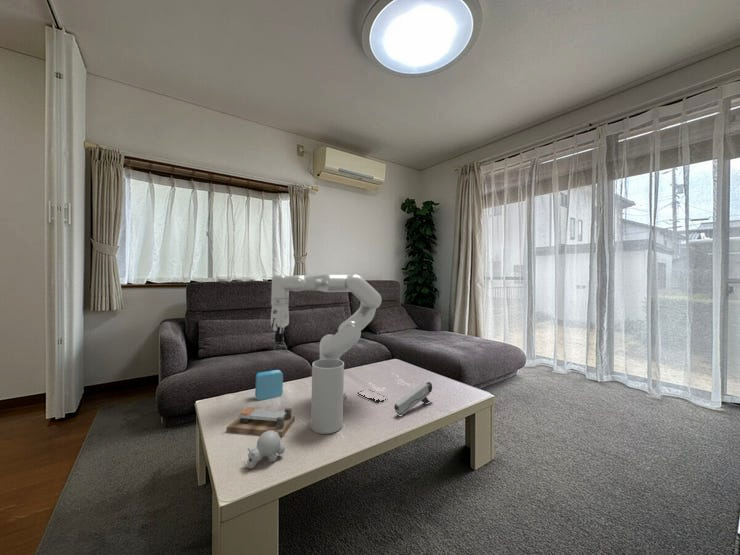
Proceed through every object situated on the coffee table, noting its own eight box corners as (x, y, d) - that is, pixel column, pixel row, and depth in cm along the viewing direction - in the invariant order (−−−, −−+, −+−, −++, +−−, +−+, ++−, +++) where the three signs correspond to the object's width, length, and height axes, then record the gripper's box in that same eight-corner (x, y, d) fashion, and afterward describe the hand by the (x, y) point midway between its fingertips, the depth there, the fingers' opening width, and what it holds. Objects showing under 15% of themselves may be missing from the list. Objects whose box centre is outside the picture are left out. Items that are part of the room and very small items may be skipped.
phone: (367, 389, 147) (388, 398, 136) (367, 391, 147) (388, 400, 136) (356, 392, 141) (377, 402, 131) (356, 395, 141) (376, 405, 131)
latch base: (294, 420, 114) (295, 406, 114) (282, 437, 102) (282, 421, 102) (244, 416, 116) (244, 402, 116) (226, 432, 104) (226, 416, 104)
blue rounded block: (280, 392, 141) (280, 369, 141) (282, 396, 137) (283, 371, 137) (255, 397, 135) (255, 372, 135) (256, 401, 131) (257, 375, 131)
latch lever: (286, 414, 111) (287, 409, 111) (281, 421, 106) (281, 416, 106) (246, 411, 113) (246, 406, 113) (239, 418, 108) (239, 413, 108)
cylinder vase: (314, 417, 117) (316, 358, 117) (344, 418, 117) (345, 359, 117) (307, 434, 104) (308, 367, 105) (340, 435, 104) (341, 369, 104)
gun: (434, 399, 135) (432, 380, 134) (400, 427, 119) (397, 406, 118) (430, 397, 137) (428, 378, 136) (396, 425, 121) (393, 404, 120)
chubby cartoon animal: (245, 470, 88) (235, 449, 86) (278, 441, 96) (270, 422, 94) (254, 482, 83) (244, 460, 81) (288, 451, 91) (280, 430, 89)
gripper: (280, 303, 120) (279, 346, 120) (294, 301, 135) (293, 338, 134) (264, 303, 121) (263, 345, 120) (279, 300, 135) (278, 338, 135)
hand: (279, 341), depth 127 cm, fingers closed
